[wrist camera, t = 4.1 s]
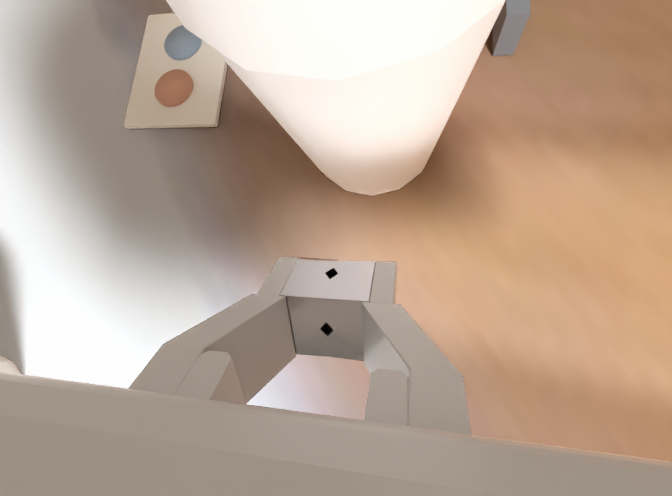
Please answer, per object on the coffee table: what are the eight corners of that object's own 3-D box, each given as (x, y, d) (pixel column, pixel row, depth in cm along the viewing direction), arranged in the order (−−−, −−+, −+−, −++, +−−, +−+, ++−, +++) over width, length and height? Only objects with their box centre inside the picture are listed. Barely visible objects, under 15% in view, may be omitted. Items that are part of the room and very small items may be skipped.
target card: (217, 126, 20) (212, 121, 20) (126, 128, 22) (120, 124, 21) (236, 11, 22) (232, 4, 22) (151, 19, 23) (146, 12, 23)
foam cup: (354, 261, 17) (245, 85, 5) (255, 135, 20) (18, -191, 7) (507, 143, 17) (788, -333, 5) (388, 32, 20) (374, -464, 7)
